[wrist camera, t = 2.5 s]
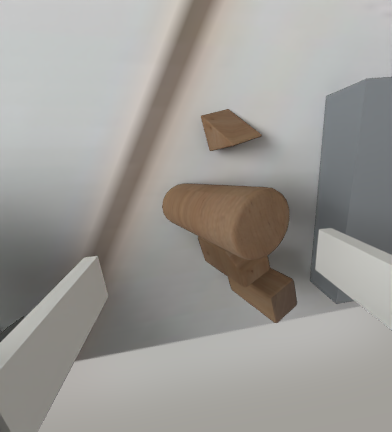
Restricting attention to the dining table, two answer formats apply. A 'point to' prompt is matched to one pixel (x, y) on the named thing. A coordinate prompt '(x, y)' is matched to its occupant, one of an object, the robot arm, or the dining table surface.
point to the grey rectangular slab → (356, 171)
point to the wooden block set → (237, 224)
